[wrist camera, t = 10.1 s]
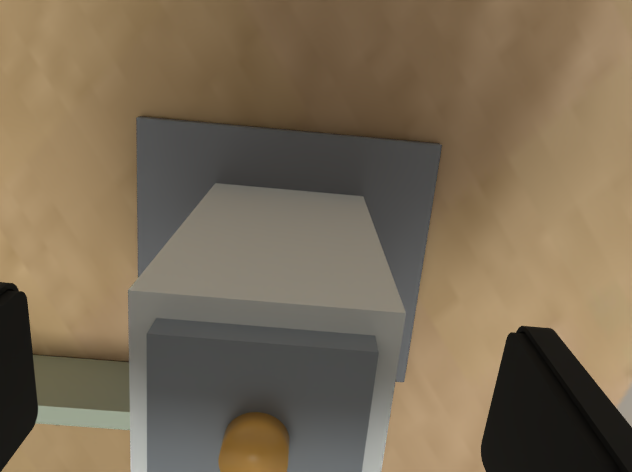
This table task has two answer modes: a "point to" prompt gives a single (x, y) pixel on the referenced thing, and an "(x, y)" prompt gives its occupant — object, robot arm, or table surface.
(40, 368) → the case
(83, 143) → the table surface
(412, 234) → the mat
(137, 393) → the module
